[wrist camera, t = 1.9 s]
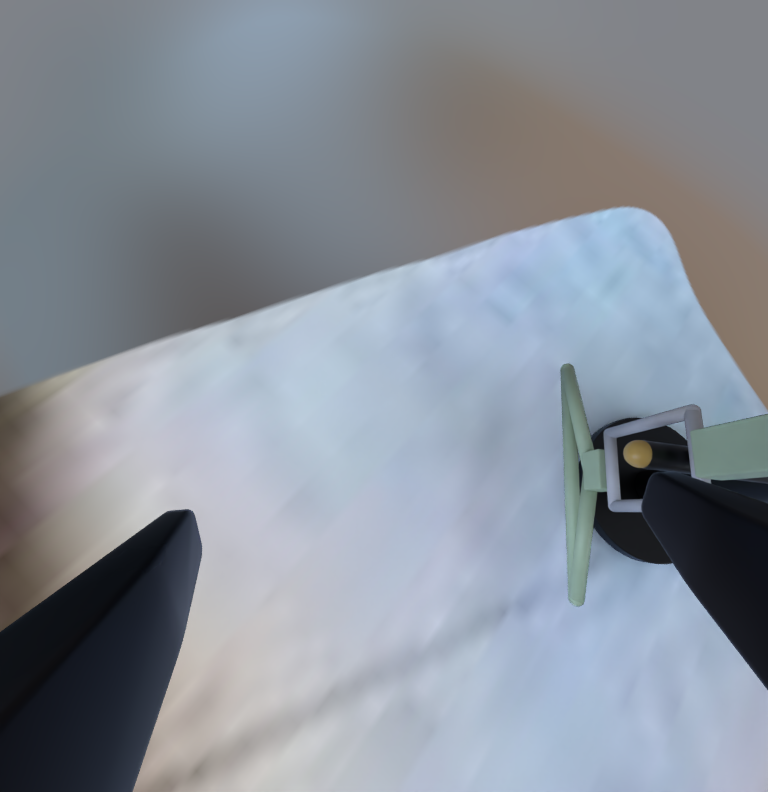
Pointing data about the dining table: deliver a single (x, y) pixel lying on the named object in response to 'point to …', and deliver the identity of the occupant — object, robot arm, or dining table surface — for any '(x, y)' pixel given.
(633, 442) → the black holder stand
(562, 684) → the dining table surface
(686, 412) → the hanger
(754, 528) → the robot arm
